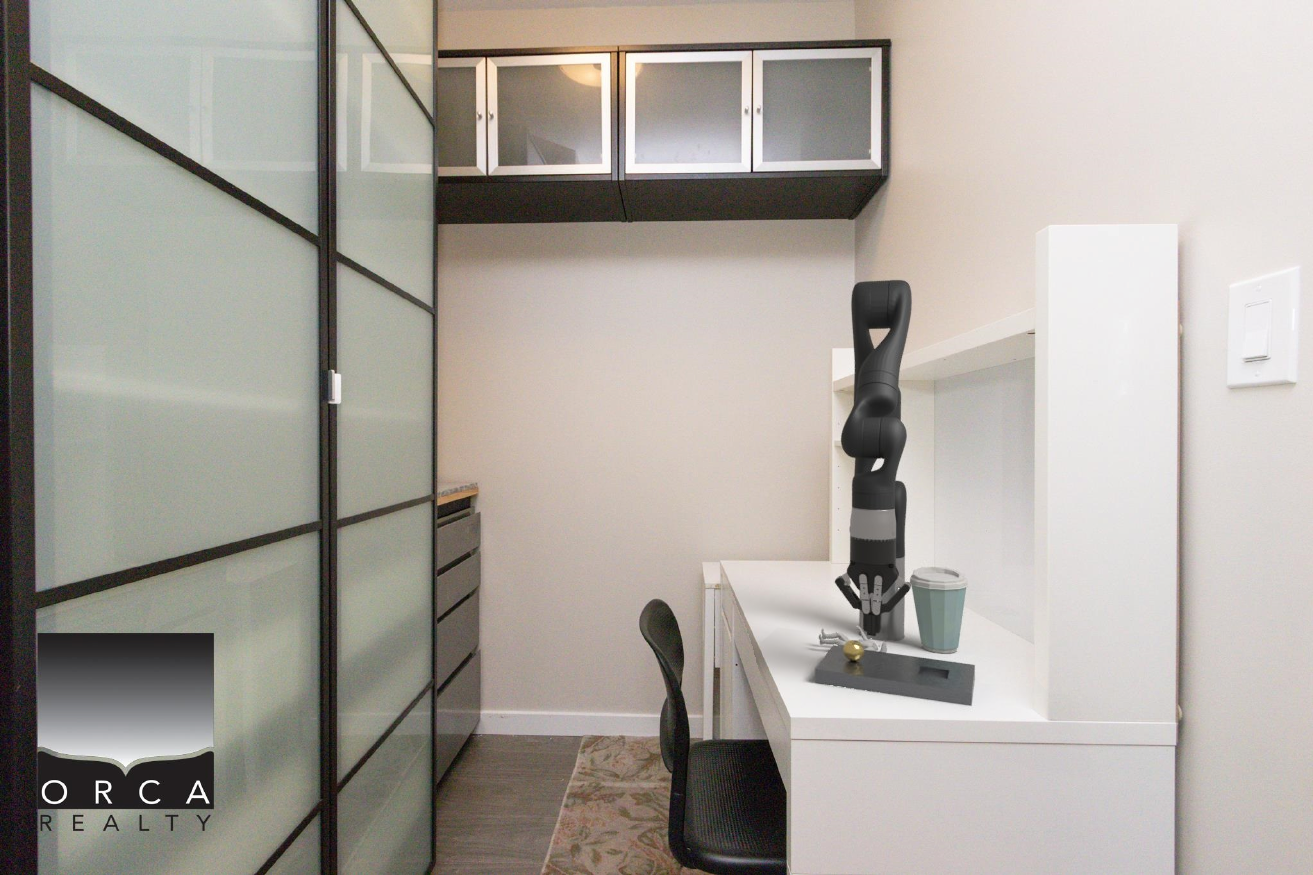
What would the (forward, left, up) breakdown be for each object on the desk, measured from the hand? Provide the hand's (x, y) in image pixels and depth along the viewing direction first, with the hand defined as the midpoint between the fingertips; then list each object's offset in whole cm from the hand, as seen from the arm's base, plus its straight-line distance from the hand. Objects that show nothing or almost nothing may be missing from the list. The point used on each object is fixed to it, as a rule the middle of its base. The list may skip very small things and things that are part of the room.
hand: (872, 634), depth 121 cm
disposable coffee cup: (-22, +9, -8) cm, 25 cm away
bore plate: (0, +4, -8) cm, 9 cm away
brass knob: (0, -3, -3) cm, 4 cm away
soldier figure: (-12, -11, -6) cm, 18 cm away
